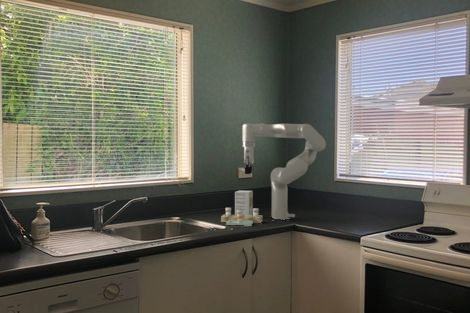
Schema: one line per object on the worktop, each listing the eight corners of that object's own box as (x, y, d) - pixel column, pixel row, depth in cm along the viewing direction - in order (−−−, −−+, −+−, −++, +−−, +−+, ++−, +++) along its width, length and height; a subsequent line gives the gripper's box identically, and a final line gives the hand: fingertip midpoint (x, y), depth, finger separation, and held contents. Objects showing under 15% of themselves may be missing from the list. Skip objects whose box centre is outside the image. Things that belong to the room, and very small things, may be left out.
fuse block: (262, 222, 277) (262, 215, 277) (261, 224, 269) (261, 217, 269) (223, 221, 280) (223, 214, 280) (221, 223, 272) (221, 216, 272)
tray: (253, 224, 269) (253, 220, 269) (251, 227, 260) (251, 223, 260) (228, 223, 271) (228, 220, 271) (226, 226, 262) (226, 222, 262)
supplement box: (249, 219, 286) (249, 192, 286) (234, 219, 289) (234, 191, 288) (253, 217, 296) (253, 190, 295) (238, 216, 298) (238, 190, 298)
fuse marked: (242, 224, 267) (243, 209, 267) (242, 225, 263) (242, 210, 263) (237, 224, 267) (237, 209, 267) (236, 224, 264) (236, 210, 264)
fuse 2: (258, 222, 275) (258, 208, 275) (258, 222, 272) (258, 209, 272) (253, 221, 275) (253, 208, 275) (252, 222, 272) (252, 208, 272)
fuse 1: (231, 221, 277) (231, 207, 277) (230, 222, 274) (230, 208, 274) (225, 221, 278) (226, 207, 277) (225, 222, 274) (225, 208, 274)
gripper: (253, 144, 271) (253, 174, 271) (256, 144, 288) (256, 172, 288) (240, 144, 272) (240, 174, 272) (244, 144, 289) (244, 172, 289)
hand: (248, 173), depth 280 cm, fingers open, 9 cm apart
